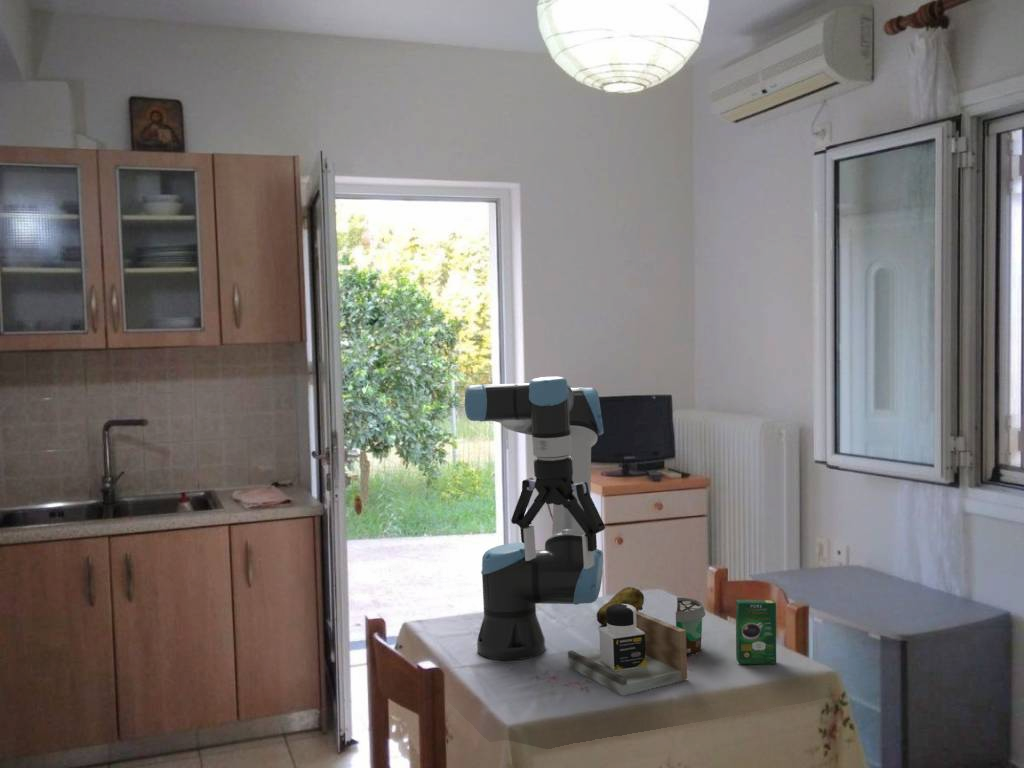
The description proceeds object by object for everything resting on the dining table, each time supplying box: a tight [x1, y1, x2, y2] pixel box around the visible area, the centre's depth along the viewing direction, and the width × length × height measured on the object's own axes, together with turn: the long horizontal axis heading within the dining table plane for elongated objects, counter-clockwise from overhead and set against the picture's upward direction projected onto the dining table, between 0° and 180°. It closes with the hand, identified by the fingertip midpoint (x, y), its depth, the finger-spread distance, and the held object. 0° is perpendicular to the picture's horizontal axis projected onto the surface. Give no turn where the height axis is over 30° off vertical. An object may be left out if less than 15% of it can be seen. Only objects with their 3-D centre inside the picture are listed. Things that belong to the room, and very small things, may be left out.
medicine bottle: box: [598, 604, 646, 672], centre depth 191 cm, size 7×7×12 cm
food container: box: [675, 596, 706, 656], centre depth 205 cm, size 12×6×10 cm, turn 168°
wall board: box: [567, 610, 688, 697], centre depth 192 cm, size 20×16×10 cm
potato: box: [596, 586, 645, 627], centre depth 227 cm, size 8×13×8 cm, turn 104°
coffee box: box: [735, 599, 777, 665], centre depth 195 cm, size 8×3×13 cm, turn 86°
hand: (559, 563), depth 185 cm, fingers open, 13 cm apart
